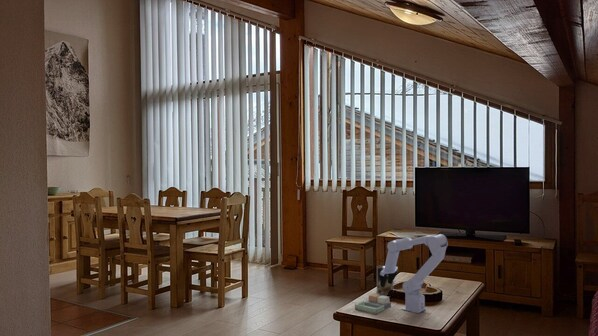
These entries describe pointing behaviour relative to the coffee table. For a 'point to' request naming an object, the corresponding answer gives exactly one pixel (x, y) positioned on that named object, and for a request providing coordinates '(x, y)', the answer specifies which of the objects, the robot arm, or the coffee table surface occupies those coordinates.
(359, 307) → the green tray
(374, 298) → the terracotta tile
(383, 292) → the coffee box
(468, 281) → the coffee table surface
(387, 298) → the cream tile
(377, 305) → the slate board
